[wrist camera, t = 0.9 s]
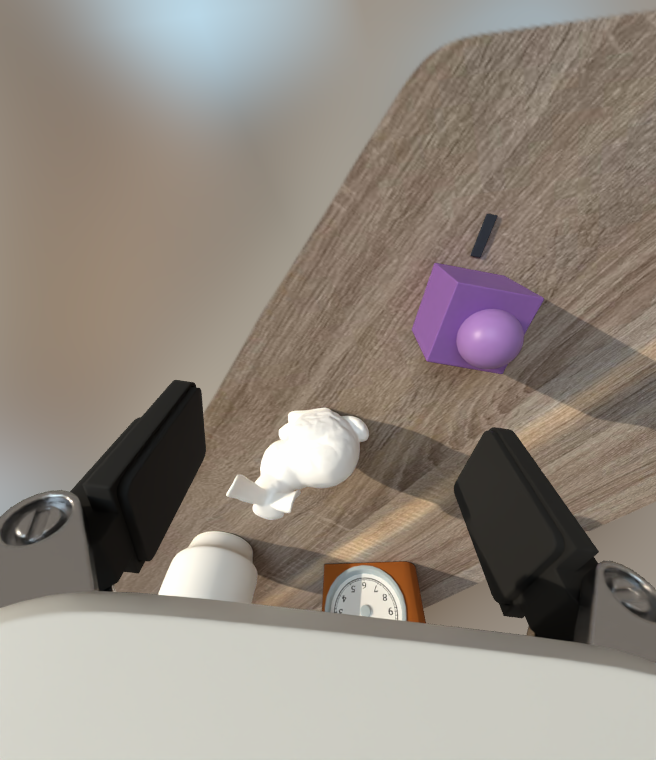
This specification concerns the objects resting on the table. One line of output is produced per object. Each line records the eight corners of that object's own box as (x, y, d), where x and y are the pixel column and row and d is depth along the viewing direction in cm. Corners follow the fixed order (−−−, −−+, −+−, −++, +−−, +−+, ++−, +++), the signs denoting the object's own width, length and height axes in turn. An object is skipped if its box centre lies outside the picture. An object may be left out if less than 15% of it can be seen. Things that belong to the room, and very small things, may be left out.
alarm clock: (415, 559, 49) (436, 673, 37) (415, 585, 53) (435, 694, 42) (323, 562, 51) (317, 672, 39) (331, 587, 55) (328, 693, 44)
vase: (251, 575, 54) (179, 879, 30) (177, 557, 52) (38, 869, 28) (272, 538, 47) (201, 888, 24) (188, 515, 45) (18, 876, 22)
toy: (434, 262, 25) (475, 297, 17) (504, 275, 25) (576, 315, 17) (411, 330, 28) (437, 384, 20) (474, 341, 28) (523, 399, 21)
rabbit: (282, 462, 38) (260, 561, 28) (244, 405, 34) (202, 499, 24) (376, 438, 35) (389, 539, 25) (348, 372, 31) (351, 464, 21)
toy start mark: (487, 213, 23) (487, 213, 23) (497, 215, 23) (497, 215, 23) (470, 255, 24) (470, 255, 24) (479, 257, 25) (480, 257, 24)
